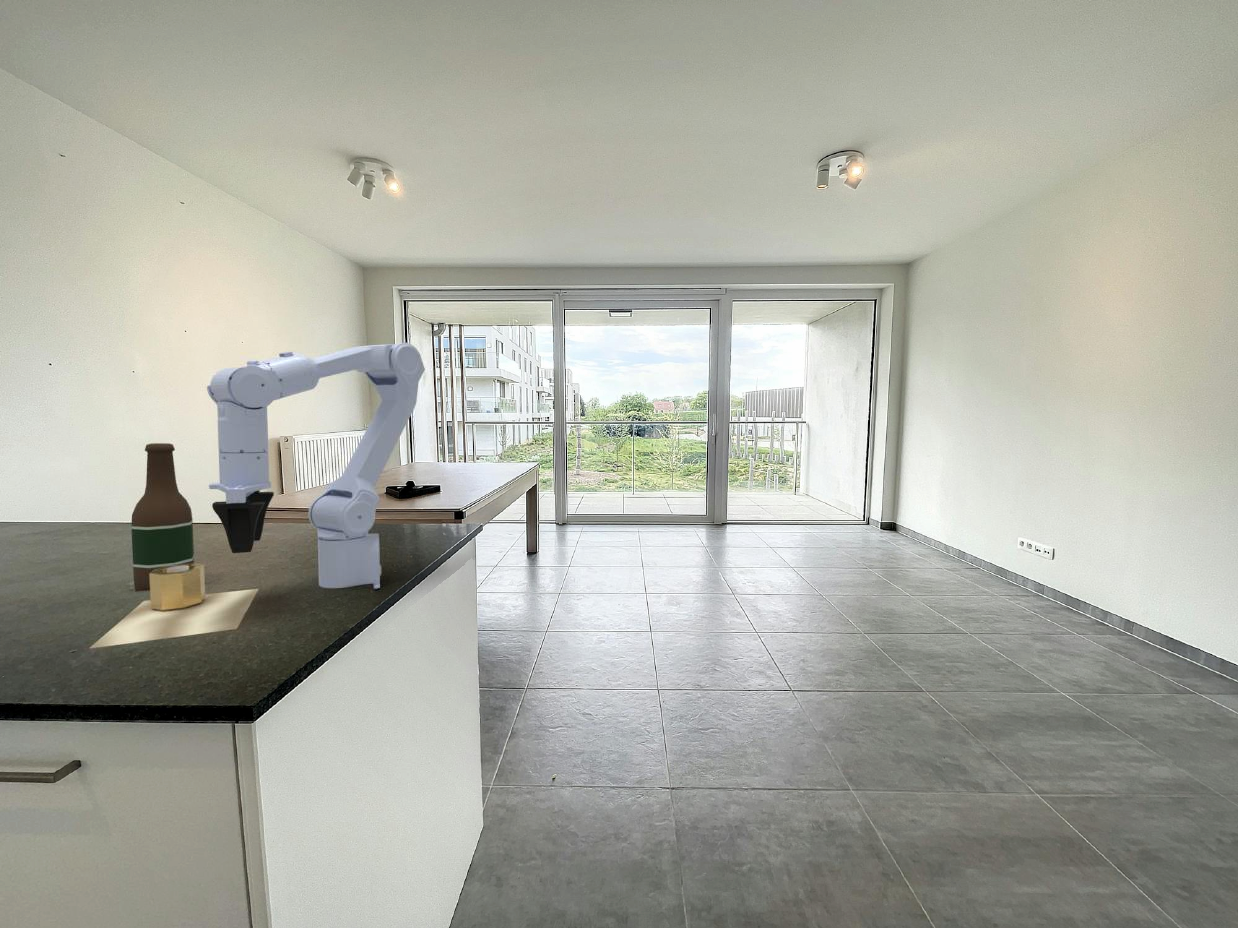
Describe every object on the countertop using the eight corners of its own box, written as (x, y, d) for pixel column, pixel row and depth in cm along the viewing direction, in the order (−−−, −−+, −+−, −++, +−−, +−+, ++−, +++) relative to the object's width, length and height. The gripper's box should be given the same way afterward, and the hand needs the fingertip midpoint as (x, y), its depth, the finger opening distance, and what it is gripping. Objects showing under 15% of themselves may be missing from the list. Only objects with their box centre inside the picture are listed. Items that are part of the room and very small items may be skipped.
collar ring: (207, 594, 78) (206, 562, 77) (198, 605, 73) (196, 571, 72) (160, 599, 75) (158, 566, 75) (146, 611, 70) (145, 576, 70)
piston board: (258, 594, 82) (257, 555, 81) (237, 635, 66) (235, 587, 65) (144, 607, 75) (142, 564, 75) (89, 656, 59) (86, 602, 59)
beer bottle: (143, 599, 79) (136, 444, 77) (126, 589, 83) (119, 443, 81) (204, 586, 85) (199, 444, 84) (185, 578, 89) (180, 442, 88)
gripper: (220, 449, 77) (223, 538, 78) (194, 455, 64) (198, 561, 65) (276, 449, 80) (278, 534, 81) (262, 454, 67) (265, 555, 68)
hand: (247, 546), depth 73 cm, fingers open, 7 cm apart
